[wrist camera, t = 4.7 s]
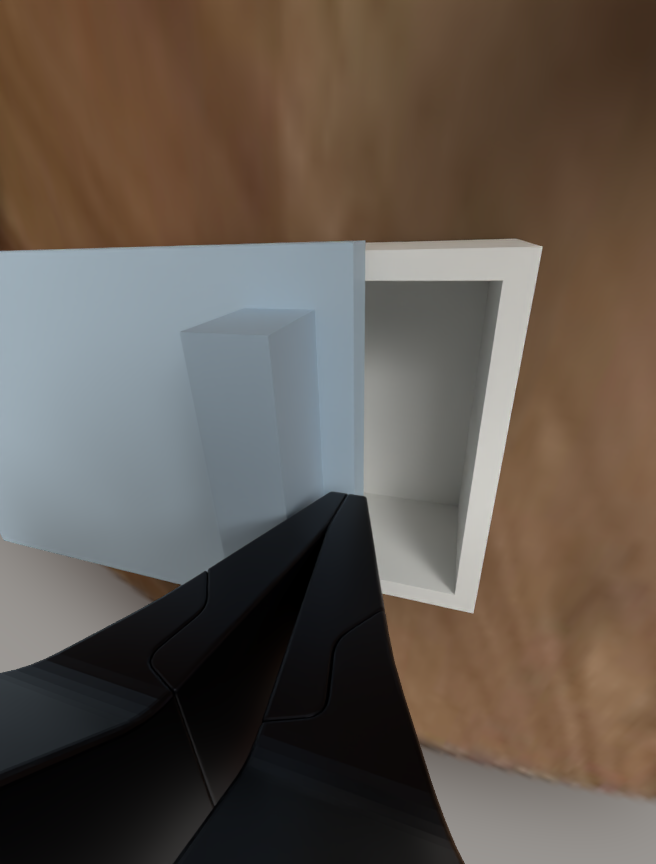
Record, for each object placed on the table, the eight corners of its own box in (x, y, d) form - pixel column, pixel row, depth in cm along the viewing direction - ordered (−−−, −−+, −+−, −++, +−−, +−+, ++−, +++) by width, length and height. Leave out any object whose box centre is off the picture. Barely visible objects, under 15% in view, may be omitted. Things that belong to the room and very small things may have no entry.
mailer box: (515, 238, 12) (542, 246, 8) (472, 512, 16) (473, 613, 12) (127, 249, 16) (1, 258, 11) (178, 467, 20) (102, 531, 16)
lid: (365, 240, 8) (313, 248, 5) (362, 601, 13) (334, 702, 10) (-101, 253, 12) (-265, 262, 9) (27, 524, 17) (-58, 582, 14)
